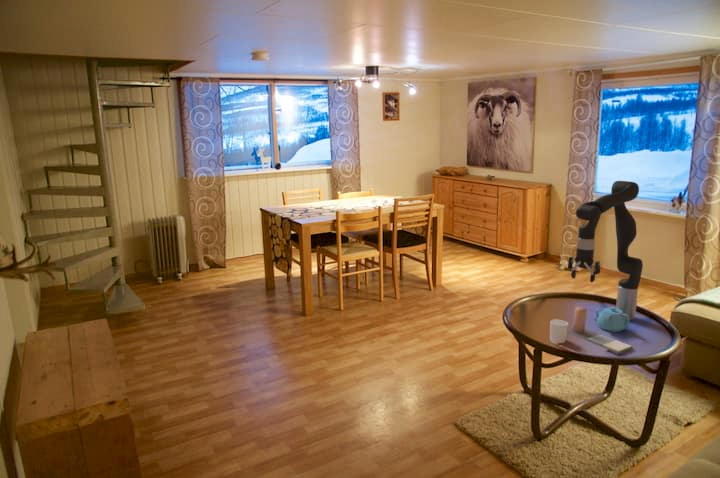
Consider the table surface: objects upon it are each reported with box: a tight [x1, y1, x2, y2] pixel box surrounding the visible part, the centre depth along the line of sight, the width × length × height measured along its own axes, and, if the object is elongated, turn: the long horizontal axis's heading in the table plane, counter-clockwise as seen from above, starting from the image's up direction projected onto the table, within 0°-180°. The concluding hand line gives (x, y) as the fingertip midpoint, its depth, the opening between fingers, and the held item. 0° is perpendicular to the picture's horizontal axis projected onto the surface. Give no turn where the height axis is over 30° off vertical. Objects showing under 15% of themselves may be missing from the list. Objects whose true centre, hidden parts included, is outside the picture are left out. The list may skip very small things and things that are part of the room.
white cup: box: [549, 318, 569, 345], centre depth 237 cm, size 8×8×10 cm
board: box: [567, 328, 634, 356], centre depth 239 cm, size 12×28×2 cm, turn 31°
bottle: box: [572, 306, 588, 334], centre depth 246 cm, size 5×5×12 cm
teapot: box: [593, 306, 631, 333], centre depth 251 cm, size 20×17×12 cm
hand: (582, 280), depth 239 cm, fingers open, 8 cm apart
